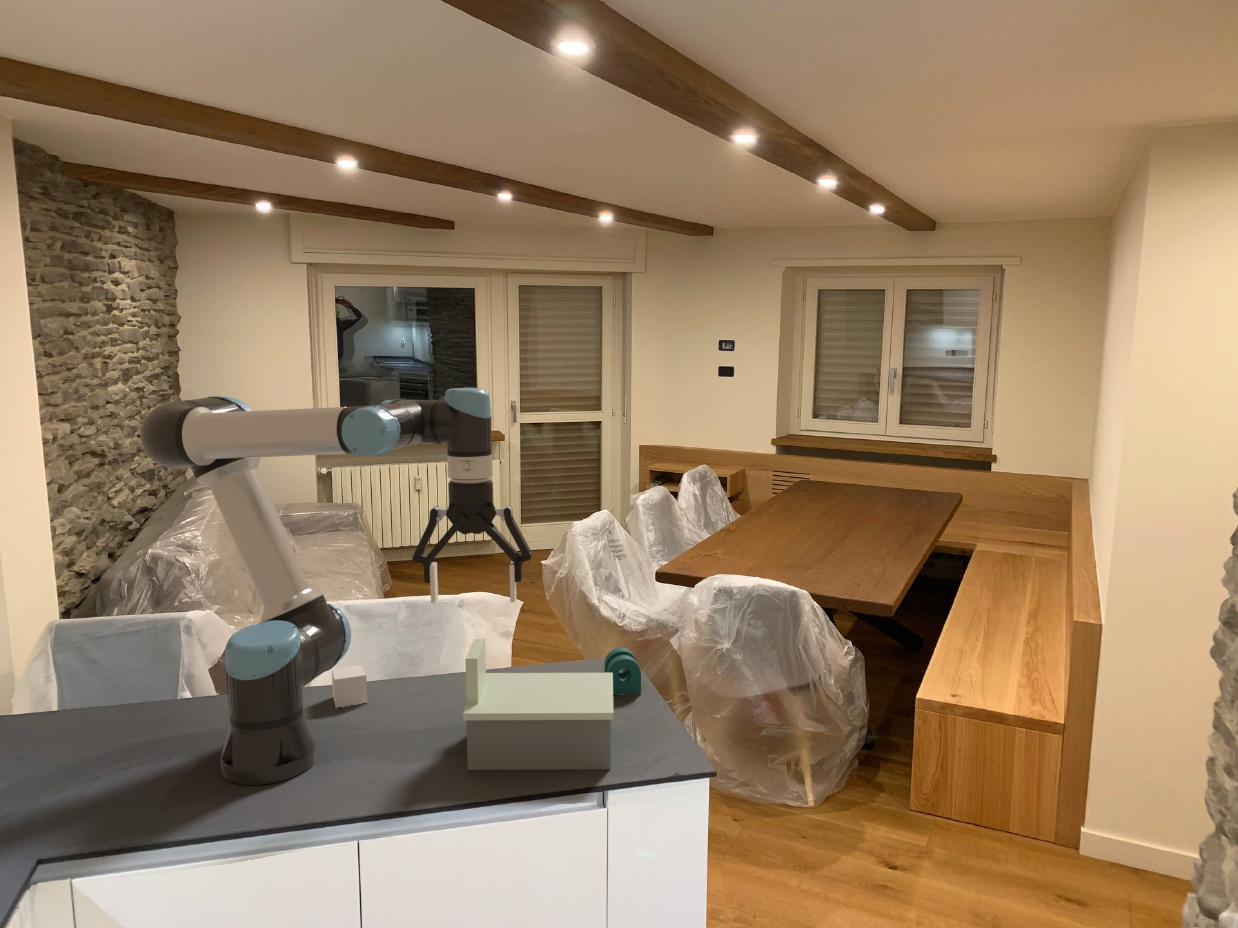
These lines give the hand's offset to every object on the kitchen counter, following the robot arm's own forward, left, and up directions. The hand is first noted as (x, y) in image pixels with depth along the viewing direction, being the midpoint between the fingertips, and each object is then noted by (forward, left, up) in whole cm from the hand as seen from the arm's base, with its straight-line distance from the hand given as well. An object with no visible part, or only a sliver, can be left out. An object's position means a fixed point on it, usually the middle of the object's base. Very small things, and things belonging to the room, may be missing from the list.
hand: (474, 600), depth 155 cm
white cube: (-28, +21, -27) cm, 44 cm away
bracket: (+21, +26, -27) cm, 43 cm away
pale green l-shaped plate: (+12, 0, -19) cm, 23 cm away
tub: (+12, 0, -27) cm, 29 cm away
